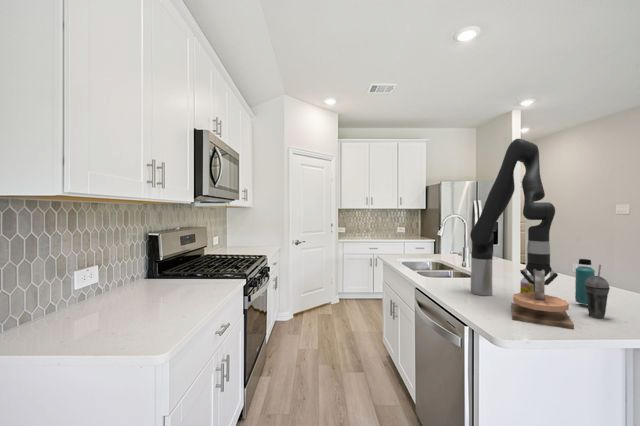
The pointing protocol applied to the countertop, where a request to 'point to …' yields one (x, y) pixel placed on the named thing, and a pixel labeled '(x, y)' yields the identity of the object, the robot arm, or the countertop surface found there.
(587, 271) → the beverage bottle
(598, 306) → the beverage cup
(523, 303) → the collar
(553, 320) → the pipe stand
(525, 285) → the supplement bottle
